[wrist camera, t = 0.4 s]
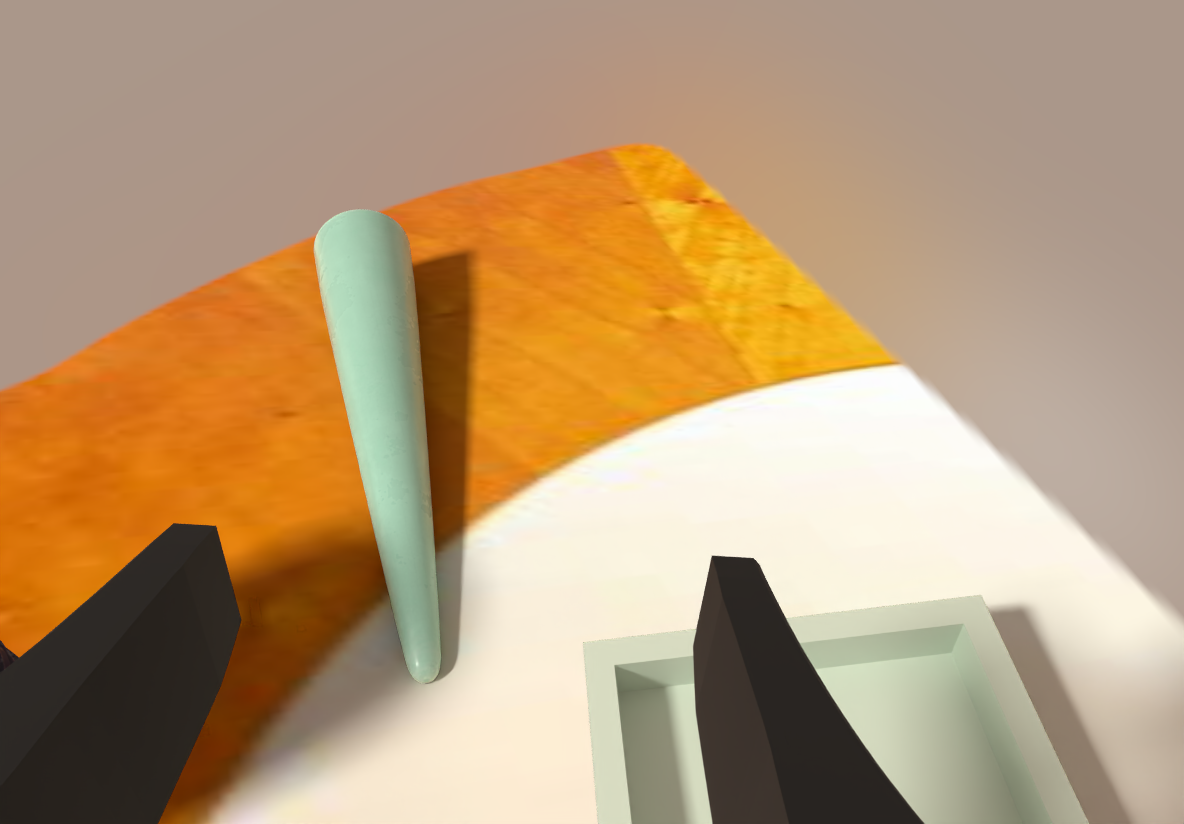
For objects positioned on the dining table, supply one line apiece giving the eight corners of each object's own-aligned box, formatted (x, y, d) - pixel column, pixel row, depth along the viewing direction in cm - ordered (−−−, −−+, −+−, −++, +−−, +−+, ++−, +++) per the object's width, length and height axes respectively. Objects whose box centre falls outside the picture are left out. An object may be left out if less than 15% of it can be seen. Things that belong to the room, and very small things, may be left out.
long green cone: (314, 634, 29) (300, 220, 47) (360, 708, 32) (331, 299, 51) (472, 591, 29) (397, 199, 48) (499, 669, 33) (419, 279, 52)
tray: (1113, 986, 24) (1153, 959, 22) (621, 1043, 24) (614, 1022, 22) (962, 639, 32) (981, 594, 30) (590, 683, 32) (583, 642, 30)
